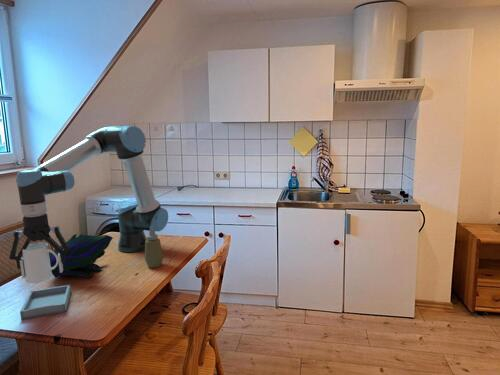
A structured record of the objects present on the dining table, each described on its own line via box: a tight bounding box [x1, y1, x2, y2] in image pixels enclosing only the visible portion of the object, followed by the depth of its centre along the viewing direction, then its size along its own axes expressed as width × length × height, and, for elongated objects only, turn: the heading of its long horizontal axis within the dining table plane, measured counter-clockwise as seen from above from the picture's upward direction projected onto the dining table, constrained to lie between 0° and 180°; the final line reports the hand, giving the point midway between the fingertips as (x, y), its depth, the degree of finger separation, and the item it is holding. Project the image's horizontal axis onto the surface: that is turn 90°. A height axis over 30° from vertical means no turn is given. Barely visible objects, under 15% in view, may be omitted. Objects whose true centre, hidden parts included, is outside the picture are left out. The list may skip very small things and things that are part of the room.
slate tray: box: [19, 284, 72, 321], centre depth 136 cm, size 14×17×3 cm
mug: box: [21, 242, 58, 284], centre depth 133 cm, size 12×8×12 cm
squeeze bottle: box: [144, 227, 164, 269], centre depth 168 cm, size 8×8×18 cm
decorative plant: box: [49, 233, 114, 279], centre depth 160 cm, size 21×26×30 cm
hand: (43, 273), depth 134 cm, fingers closed on mug, 11 cm apart
